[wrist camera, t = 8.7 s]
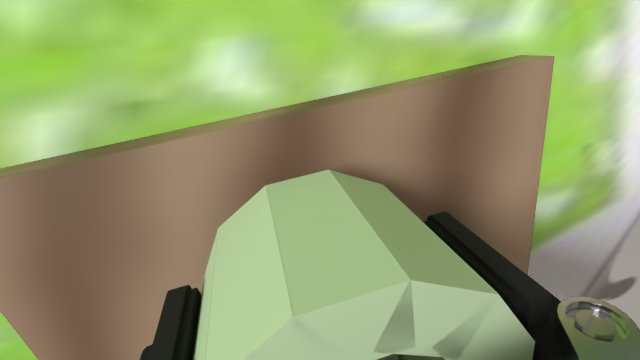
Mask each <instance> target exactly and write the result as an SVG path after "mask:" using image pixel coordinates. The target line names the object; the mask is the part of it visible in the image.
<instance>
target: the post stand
mask: <svg viewBox="0 0 640 360" xmlns="http://www.w3.org/2000/svg"><path fill="white" fill-rule="evenodd" d="M553 64H554V56H529V55H520V56H516V57H511V58H506V59H502V60H497V61H493V62H488V63H483V64H479V65H474V66H470V67H465V68H460V69H456V70H451V71H447V72H442V73H437V74H433V75H428V76H424V77H419V78H414V79H410V80H405V81H401V82H396V83H391V84H387V85H382V86H378V87H373V88H369V89H364V90H359V91H355V92H350V93H346V94H341V95H336V96H332V97H327V98H323V99H318V100H313V101H309V102H304V103H300V104H295V105H290V106H286V107H281V108H277V109H272V110H267V111H263V112H258V113H254V114H249V115H245V116H240V117H235V118H231V119H226V120H222V121H217V122H212V123H208V124H203V125H199V126H194V127H189V128H185V129H180V130H176V131H171V132H166V133H162V134H157V135H153V136H148V137H143V138H139V139H134V140H130V141H125V142H120V143H116V144H111V145H107V146H102V147H98V148H93V149H88V150H84V151H79V152H75V153H70V154H65V155H61V156H56V157H52V158H47V159H42V160H38V161H33V162H29V163H24V164H19V165H15V166H10V167H6V168H1V169H0V311H1V313H2V314H3V315H4V317H5V318H6V319H7V320H8V322H9V323H10V324H11V325H12V327H13V328H14V329H15V331H16V332H17V333H18V334H19V336H20V337H21V338H22V340H23V341H24V342H25V343H26V345H27V346H28V347H29V349H30V350H31V351H32V352H33V354H34V355H35V356H36V357H37V359H38V360H140V357H141V354H142V352H143V350H144V349H145V347H146V346H149V345H152V344H153V341H154V337H155V333H156V330H157V326H158V323H159V319H160V316H161V312H162V308H163V305H164V301H165V298H166V294H167V292H168V291H169V290H172V289H175V288H179V287H182V286H186V285H190V286H191V288H192V289H193V288H198V289H199V291H200V294H201V290H202V283H203V279H204V275H205V272H206V268H207V265H208V261H209V258H210V254H211V251H212V247H213V244H214V240H215V237H216V233H217V230H218V228H219V227H220V226H221V225H222V224H223V223H224V222H225V221H226V220H228V219H229V218H230V217H231V216H232V215H233V214H234V213H235V212H236V211H238V210H239V209H240V208H241V207H242V206H243V205H244V204H245V203H246V202H248V201H249V200H250V199H251V198H252V197H253V196H254V195H255V194H257V193H258V192H259V191H260V190H261V189H262V188H263V187H264V186H265V185H269V184H273V183H277V182H281V181H285V180H289V179H293V178H297V177H301V176H305V175H309V174H313V173H317V172H321V171H325V170H332V171H336V172H339V173H343V174H347V175H350V176H354V177H357V178H361V179H365V180H368V181H372V182H376V183H379V184H383V185H384V186H385V187H386V188H387V189H388V190H389V191H390V192H392V193H393V194H394V195H395V196H396V197H397V198H398V199H399V200H400V201H401V202H402V203H403V204H404V205H405V206H406V207H407V208H408V209H409V210H411V211H412V212H413V213H414V214H415V215H416V216H417V217H418V218H419V219H420V220H421V221H422V222H423V223H424V222H425V221H427V217H428V216H429V215H433V214H436V213H440V212H443V211H446V212H448V213H449V214H450V215H452V216H453V217H454V218H455V219H457V220H458V221H459V222H461V223H462V224H463V225H464V226H466V227H467V228H468V229H469V230H471V231H472V232H473V233H475V234H476V235H477V236H478V237H480V238H481V239H482V240H483V241H485V242H486V243H487V244H489V245H490V246H491V247H492V248H494V249H495V250H496V251H497V252H499V253H500V254H501V255H502V256H504V257H505V258H506V259H508V260H509V261H510V262H511V263H513V264H514V265H515V266H516V267H518V268H519V269H520V270H522V271H523V272H524V273H525V274H528V266H529V258H530V250H531V242H532V234H533V225H534V217H535V209H536V201H537V193H538V185H539V177H540V169H541V161H542V153H543V145H544V137H545V128H546V120H547V112H548V104H549V96H550V88H551V80H552V72H553ZM398 355H399V354H391V355H388V356H386V357H383V358H380V359H377V360H398Z"/></svg>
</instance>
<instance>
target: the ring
mask: <svg viewBox="0 0 640 360" xmlns="http://www.w3.org/2000/svg"><path fill="white" fill-rule="evenodd" d="M534 346H535V341H534V340H533V338H532V337H531V336H530V334H529V333H528V332H527V331H526V329H525V328H524V327H523V325H522V324H521V323H520V321H519V320H518V319H517V318H516V316H515V315H514V314H513V312H512V311H511V310H510V308H509V307H508V306H507V305H506V303H505V302H504V301H503V299H502V298H501V297H500V295H499V294H498V293H497V292H496V291H495V290H494V289H493V288H492V287H491V286H490V285H489V284H488V283H487V282H485V281H484V280H483V279H482V278H481V277H480V276H479V275H478V274H477V273H476V272H475V271H474V270H473V269H472V268H471V267H470V266H469V265H468V264H466V263H465V262H464V261H463V260H462V259H461V258H460V257H459V256H458V255H457V254H456V253H455V252H454V251H453V250H452V249H451V248H450V247H449V246H447V245H446V244H445V243H444V242H443V241H442V240H441V239H440V238H439V237H438V236H437V235H436V234H435V233H434V232H433V231H432V230H431V229H430V228H428V227H427V226H426V225H425V224H424V223H423V222H422V221H421V220H420V219H419V218H418V217H417V216H416V215H415V214H414V213H413V212H412V211H411V210H409V209H408V208H407V207H406V206H405V205H404V204H403V203H402V202H401V201H400V200H399V199H398V198H397V197H396V196H395V195H394V194H393V193H392V192H390V191H389V190H388V189H387V188H386V187H385V186H384V185H383V184H379V183H376V182H372V181H368V180H365V179H361V178H357V177H354V176H350V175H347V174H343V173H339V172H336V171H332V170H325V171H321V172H317V173H313V174H309V175H305V176H301V177H297V178H293V179H289V180H285V181H281V182H277V183H273V184H269V185H265V186H264V187H263V188H262V189H261V190H260V191H259V192H258V193H257V194H255V195H254V196H253V197H252V198H251V199H250V200H249V201H248V202H246V203H245V204H244V205H243V206H242V207H241V208H240V209H239V210H238V211H236V212H235V213H234V214H233V215H232V216H231V217H230V218H229V219H228V220H226V221H225V222H224V223H223V224H222V225H221V226H220V227H219V228H218V230H217V233H216V237H215V240H214V244H213V247H212V251H211V254H210V258H209V261H208V265H207V268H206V272H205V275H204V279H203V283H202V290H201V301H200V308H199V315H198V322H197V330H196V337H195V344H194V351H193V358H192V360H377V359H380V358H383V357H386V356H388V355H391V354H399V355H398V360H532V359H533V352H534Z"/></svg>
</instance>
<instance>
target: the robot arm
mask: <svg viewBox="0 0 640 360" xmlns="http://www.w3.org/2000/svg"><path fill="white" fill-rule="evenodd" d="M424 224H425V225H426V226H427V227H428V228H430V229H431V230H432V231H433V232H434V233H435V234H436V235H437V236H438V237H439V238H440V239H441V240H442V241H443V242H444V243H445V244H446V245H447V246H449V247H450V248H451V249H452V250H453V251H454V252H455V253H456V254H457V255H458V256H459V257H460V258H461V259H462V260H463V261H464V262H465V263H466V264H468V265H469V266H470V267H471V268H472V269H473V270H474V271H475V272H476V273H477V274H478V275H479V276H480V277H481V278H482V279H483V280H484V281H485V282H487V283H488V284H489V285H490V286H491V287H492V288H493V289H494V290H495V291H496V292H497V293H498V294H499V295H500V297H501V298H502V299H503V301H504V302H505V303H506V305H507V306H508V307H509V308H510V310H511V311H512V312H513V314H514V315H515V316H516V318H517V319H518V320H519V321H520V323H521V324H522V325H523V327H524V328H525V329H526V331H527V332H528V333H529V334H530V336H531V337H532V338H533V340H534V341H535V346H534V352H533V359H532V360H640V329H639V328H638V327H637V325H636V324H635V322H633V320H632V319H631V318H630V317H629V316H628V315H627V314H625V313H624V312H622V311H621V310H620V309H618V308H617V307H615V306H613V305H611V304H609V303H606V302H604V301H601V300H598V299H594V298H589V297H582V296H581V297H570V298H567V299H564V300H563V301H562V302H561V301H559V300H558V299H557V298H556V297H554V296H553V295H552V294H551V293H549V292H548V291H547V290H546V289H544V288H543V287H542V286H541V285H539V284H538V283H537V282H536V281H534V280H533V279H532V278H530V277H529V276H528V275H527V274H525V273H524V272H523V271H522V270H520V269H519V268H518V267H516V266H515V265H514V264H513V263H511V262H510V261H509V260H508V259H506V258H505V257H504V256H502V255H501V254H500V253H499V252H497V251H496V250H495V249H494V248H492V247H491V246H490V245H489V244H487V243H486V242H485V241H483V240H482V239H481V238H480V237H478V236H477V235H476V234H475V233H473V232H472V231H471V230H469V229H468V228H467V227H466V226H464V225H463V224H462V223H461V222H459V221H458V220H457V219H455V218H454V217H453V216H452V215H450V214H449V213H448V212H446V211H443V212H440V213H436V214H433V215H429V216H428V217H427V221H425V222H424ZM200 301H201V294H200V291H199V289H198V288H193V289H192V288H191V286H190V285H186V286H182V287H179V288H175V289H172V290H169V291H168V292H167V294H166V298H165V301H164V305H163V308H162V312H161V316H160V319H159V323H158V326H157V330H156V333H155V337H154V341H153V344H152V345H149V346H146V347H145V349H144V350H143V352H142V354H141V357H140V360H192V358H193V351H194V344H195V337H196V330H197V322H198V315H199V308H200Z"/></svg>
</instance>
